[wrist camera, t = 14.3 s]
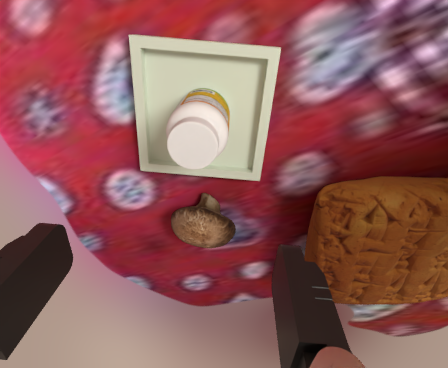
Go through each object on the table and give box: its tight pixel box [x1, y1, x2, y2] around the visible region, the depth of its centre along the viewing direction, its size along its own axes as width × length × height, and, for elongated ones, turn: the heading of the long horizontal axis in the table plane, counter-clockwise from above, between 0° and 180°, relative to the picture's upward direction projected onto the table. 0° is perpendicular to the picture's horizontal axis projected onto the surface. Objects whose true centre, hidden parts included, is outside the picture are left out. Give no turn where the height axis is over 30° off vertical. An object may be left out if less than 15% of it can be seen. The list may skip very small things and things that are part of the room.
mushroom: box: [171, 193, 236, 248], centre depth 35 cm, size 8×8×6 cm
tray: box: [129, 34, 281, 181], centre depth 29 cm, size 14×14×2 cm
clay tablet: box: [304, 176, 448, 305], centre depth 33 cm, size 22×17×8 cm
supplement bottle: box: [166, 88, 230, 170], centre depth 25 cm, size 5×5×10 cm
